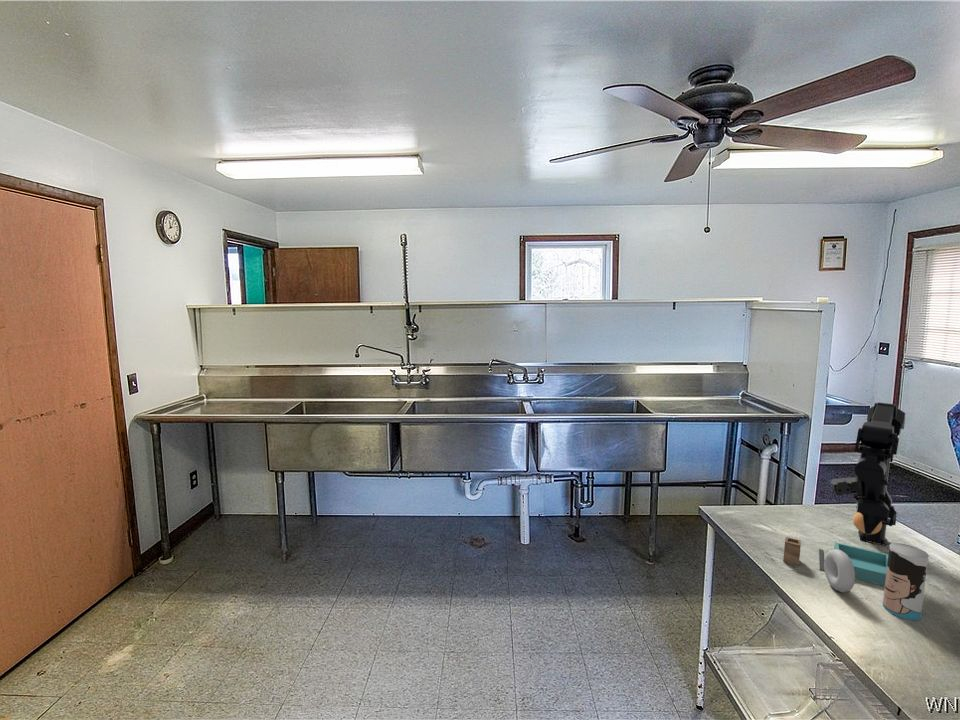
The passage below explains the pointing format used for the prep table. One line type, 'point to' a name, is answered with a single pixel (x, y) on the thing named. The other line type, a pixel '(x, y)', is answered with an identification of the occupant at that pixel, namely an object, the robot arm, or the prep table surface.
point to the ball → (860, 523)
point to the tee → (792, 551)
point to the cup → (905, 581)
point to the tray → (866, 563)
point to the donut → (839, 570)
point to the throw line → (821, 559)
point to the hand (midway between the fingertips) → (866, 528)
